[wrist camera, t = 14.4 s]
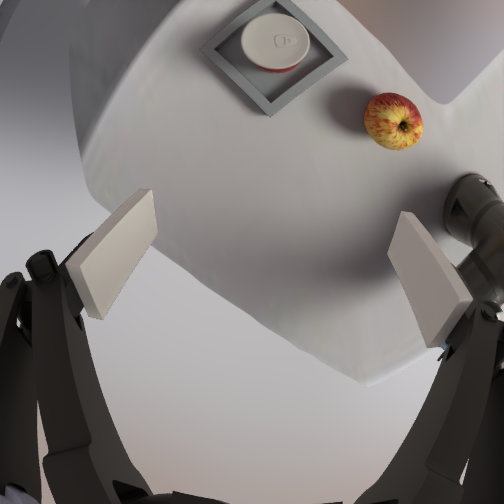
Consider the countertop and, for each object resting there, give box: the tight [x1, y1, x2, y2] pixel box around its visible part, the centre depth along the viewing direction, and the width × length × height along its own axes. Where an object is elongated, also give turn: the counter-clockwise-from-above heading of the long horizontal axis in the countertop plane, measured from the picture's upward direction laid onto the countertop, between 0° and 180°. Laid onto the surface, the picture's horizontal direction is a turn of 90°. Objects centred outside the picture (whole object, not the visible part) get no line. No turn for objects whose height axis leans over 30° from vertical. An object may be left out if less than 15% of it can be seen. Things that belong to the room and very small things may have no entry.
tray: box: [199, 0, 348, 117], centre depth 32 cm, size 16×16×3 cm
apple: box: [364, 93, 423, 150], centre depth 33 cm, size 9×9×10 cm
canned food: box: [241, 13, 310, 73], centre depth 28 cm, size 8×8×11 cm
